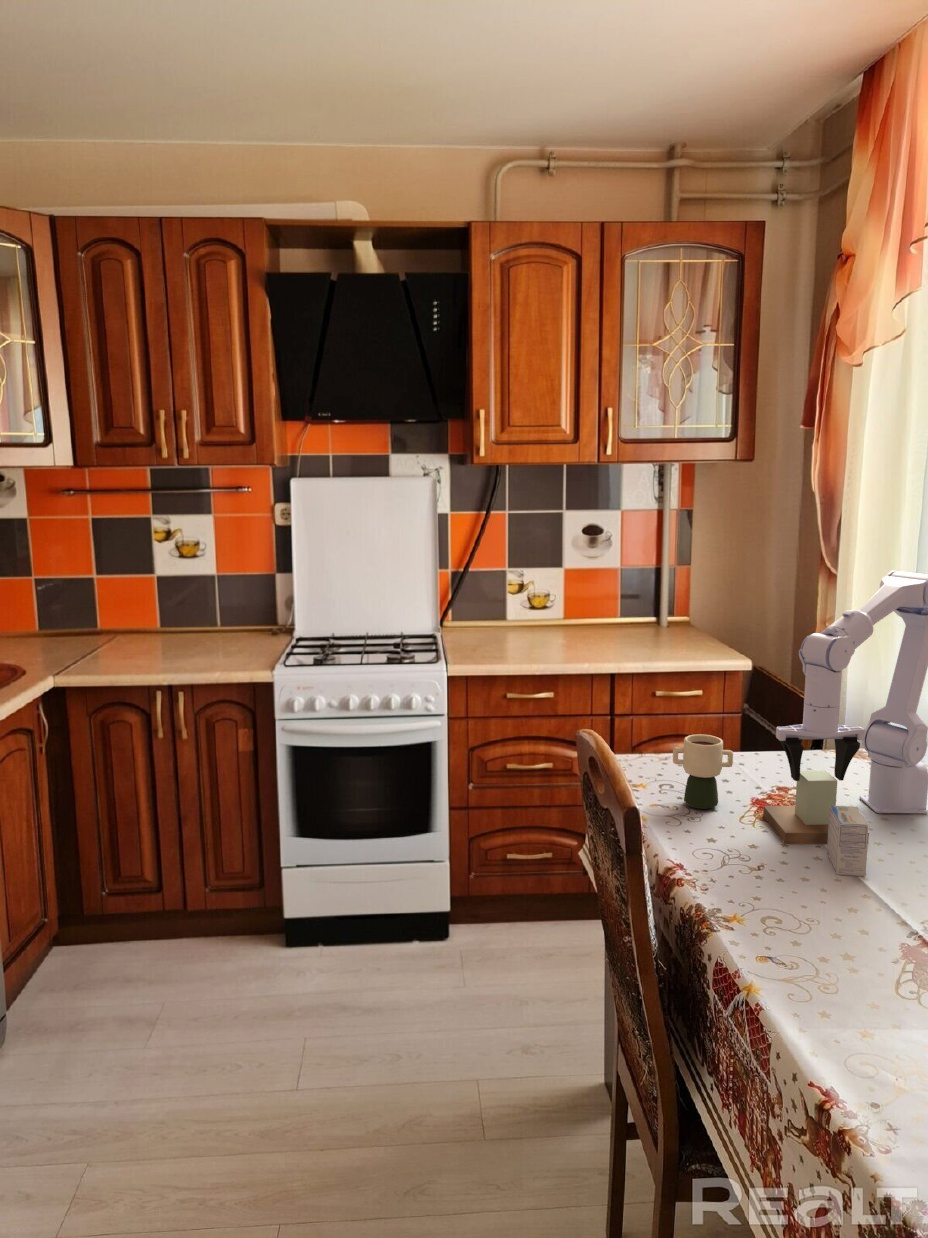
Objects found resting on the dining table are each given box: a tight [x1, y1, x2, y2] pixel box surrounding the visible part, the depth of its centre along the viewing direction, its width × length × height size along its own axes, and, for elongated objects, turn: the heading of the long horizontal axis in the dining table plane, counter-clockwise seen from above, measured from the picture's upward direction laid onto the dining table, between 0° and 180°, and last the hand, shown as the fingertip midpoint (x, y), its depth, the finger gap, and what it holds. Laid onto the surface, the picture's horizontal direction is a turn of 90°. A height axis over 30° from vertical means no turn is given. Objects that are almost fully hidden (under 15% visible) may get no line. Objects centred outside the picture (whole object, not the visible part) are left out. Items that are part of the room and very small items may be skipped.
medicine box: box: [826, 805, 869, 877], centre depth 141 cm, size 8×4×9 cm, turn 168°
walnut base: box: [762, 805, 870, 845], centre depth 156 cm, size 14×12×2 cm
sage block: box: [794, 770, 838, 825], centre depth 155 cm, size 5×5×8 cm
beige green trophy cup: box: [672, 733, 734, 810], centre depth 166 cm, size 11×7×13 cm, turn 78°
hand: (817, 778), depth 154 cm, fingers open, 7 cm apart
